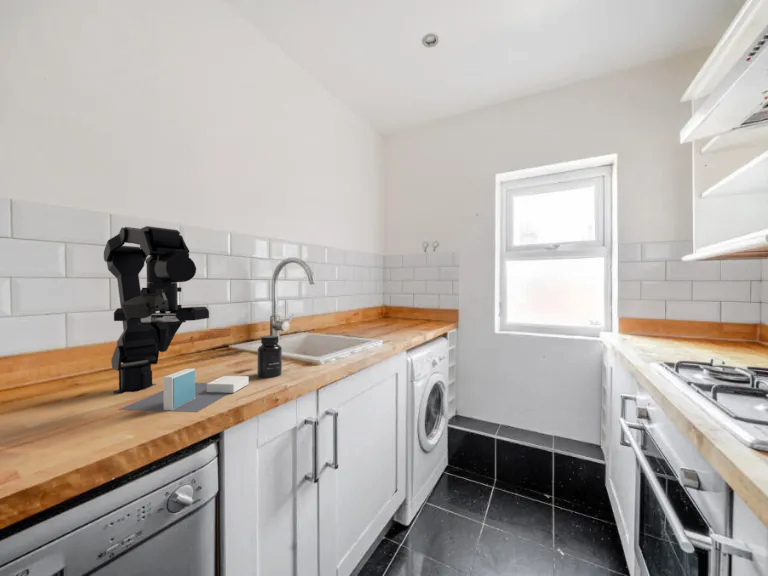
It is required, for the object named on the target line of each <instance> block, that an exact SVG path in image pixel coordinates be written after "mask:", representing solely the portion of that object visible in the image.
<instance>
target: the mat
mask: <svg viewBox="0 0 768 576" xmlns="http://www.w3.org/2000/svg"><path fill="white" fill-rule="evenodd" d="M208 383H209V382H195V399H193V400H191V401H189V402H187V403H185V404H183V405H181V406H180V407H178V408H176V409H174V410H164V399H163V390H162V391H160V392H157V393H155V394H152V395H149V396H147V397H145V398H143V399H140V400H138V401H135V402H133V403H130V404H128V405H126V406H124V407H120V408H119V409H118V411H121V410H123V411H125V410H126V411H146V412H147V411H149V412H152V411H153V412H154V411H155V412H175V413H176V412H179V413H181V412H182V413H198V412H200V411H202V410H203V409H206V408H207V407H209V406H211V405H212V404H214V403H215V402H218V401H219V400H221V399H223V398H224V397H226V396H228V395H229V394H231V393H213V392H207V384H208Z"/></svg>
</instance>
